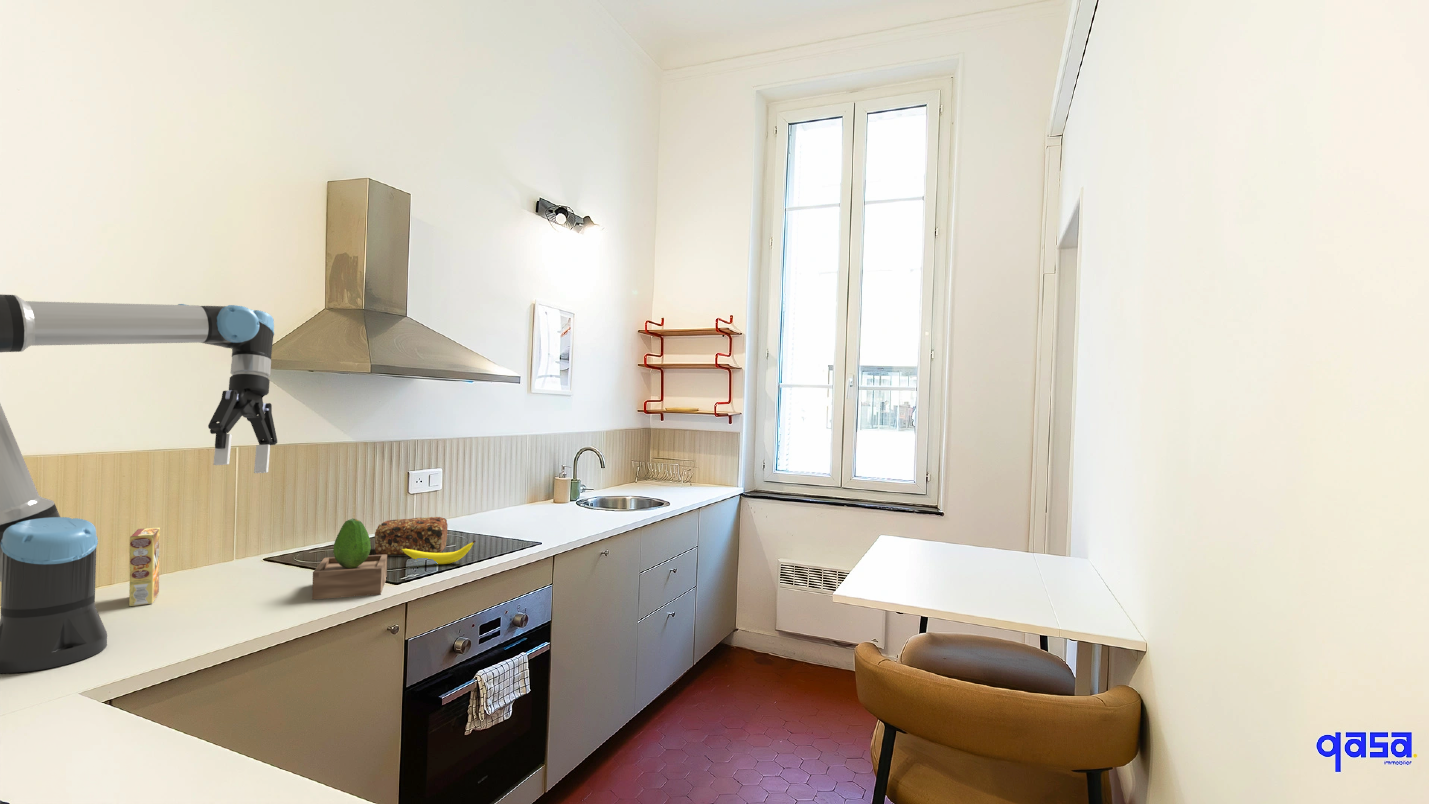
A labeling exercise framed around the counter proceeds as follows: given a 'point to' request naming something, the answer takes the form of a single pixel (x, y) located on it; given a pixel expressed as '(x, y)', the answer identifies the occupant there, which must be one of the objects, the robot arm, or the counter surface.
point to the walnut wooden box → (349, 578)
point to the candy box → (144, 566)
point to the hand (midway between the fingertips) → (242, 469)
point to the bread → (411, 535)
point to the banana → (440, 555)
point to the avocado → (352, 544)
